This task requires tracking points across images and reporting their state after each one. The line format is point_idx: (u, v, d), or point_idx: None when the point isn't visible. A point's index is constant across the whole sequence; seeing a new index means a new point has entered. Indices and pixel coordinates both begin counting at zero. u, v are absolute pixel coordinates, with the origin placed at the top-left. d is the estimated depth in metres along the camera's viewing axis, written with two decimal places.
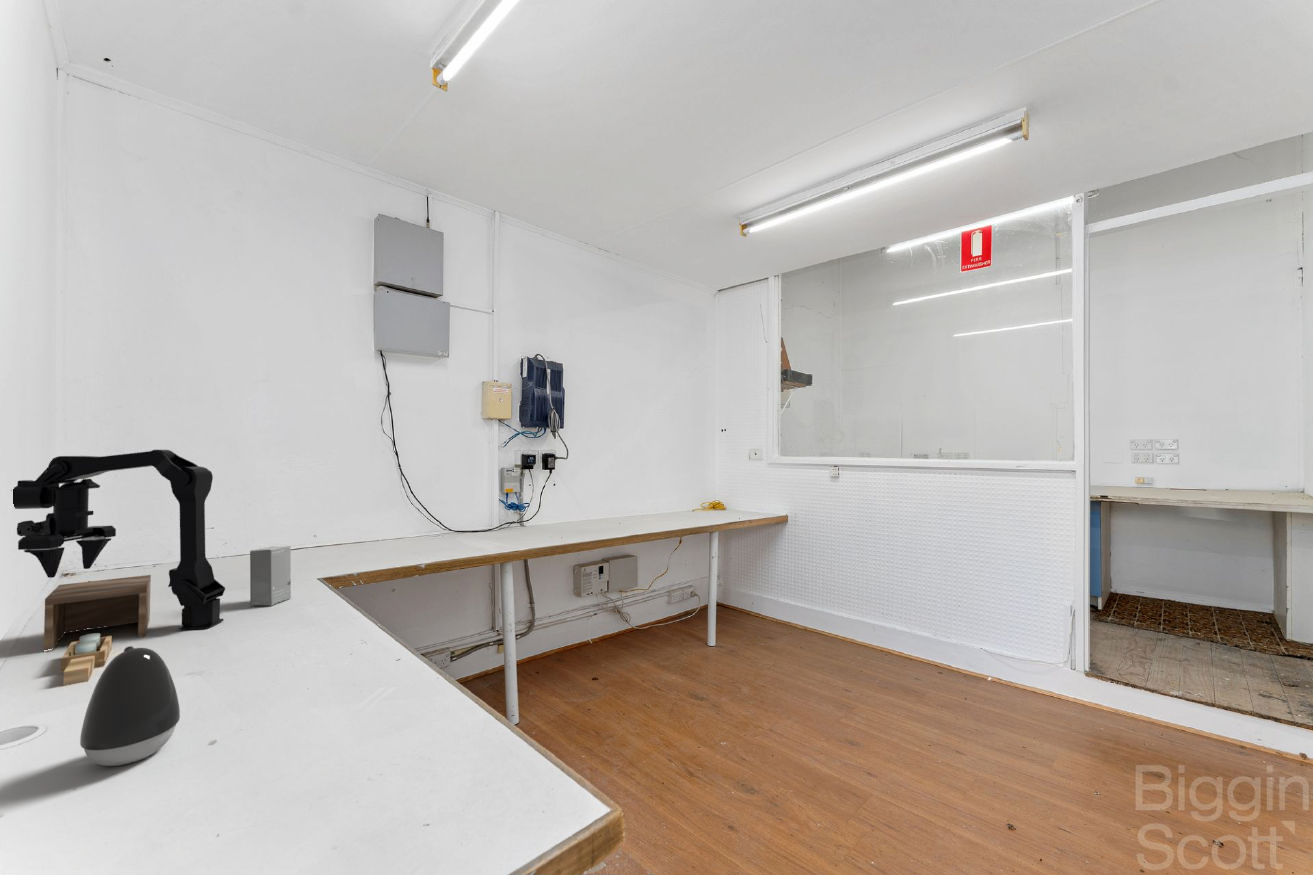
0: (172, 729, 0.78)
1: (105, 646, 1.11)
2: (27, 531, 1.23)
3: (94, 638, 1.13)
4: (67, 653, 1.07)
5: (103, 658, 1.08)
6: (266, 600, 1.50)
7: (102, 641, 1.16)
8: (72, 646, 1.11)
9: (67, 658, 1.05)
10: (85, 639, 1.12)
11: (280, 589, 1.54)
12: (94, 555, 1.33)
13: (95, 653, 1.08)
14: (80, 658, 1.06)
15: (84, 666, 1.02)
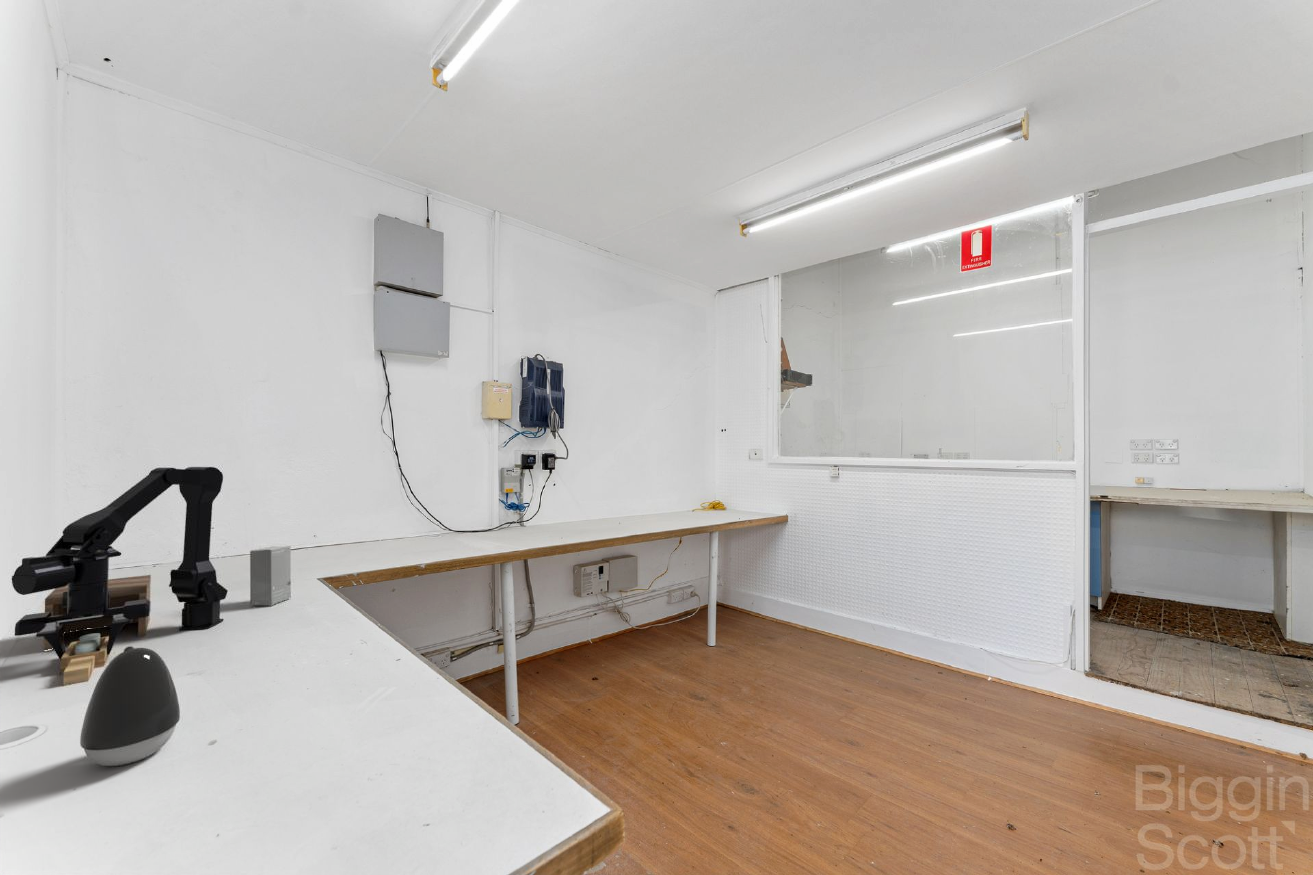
0: (172, 729, 0.78)
1: (105, 646, 1.11)
2: (62, 603, 1.11)
3: (94, 638, 1.13)
4: (67, 653, 1.07)
5: (103, 658, 1.08)
6: (266, 600, 1.50)
7: (102, 641, 1.16)
8: (72, 646, 1.11)
9: (67, 658, 1.05)
10: (85, 639, 1.12)
11: (280, 589, 1.54)
12: (108, 640, 1.11)
13: (95, 653, 1.08)
14: (80, 658, 1.06)
15: (84, 666, 1.02)
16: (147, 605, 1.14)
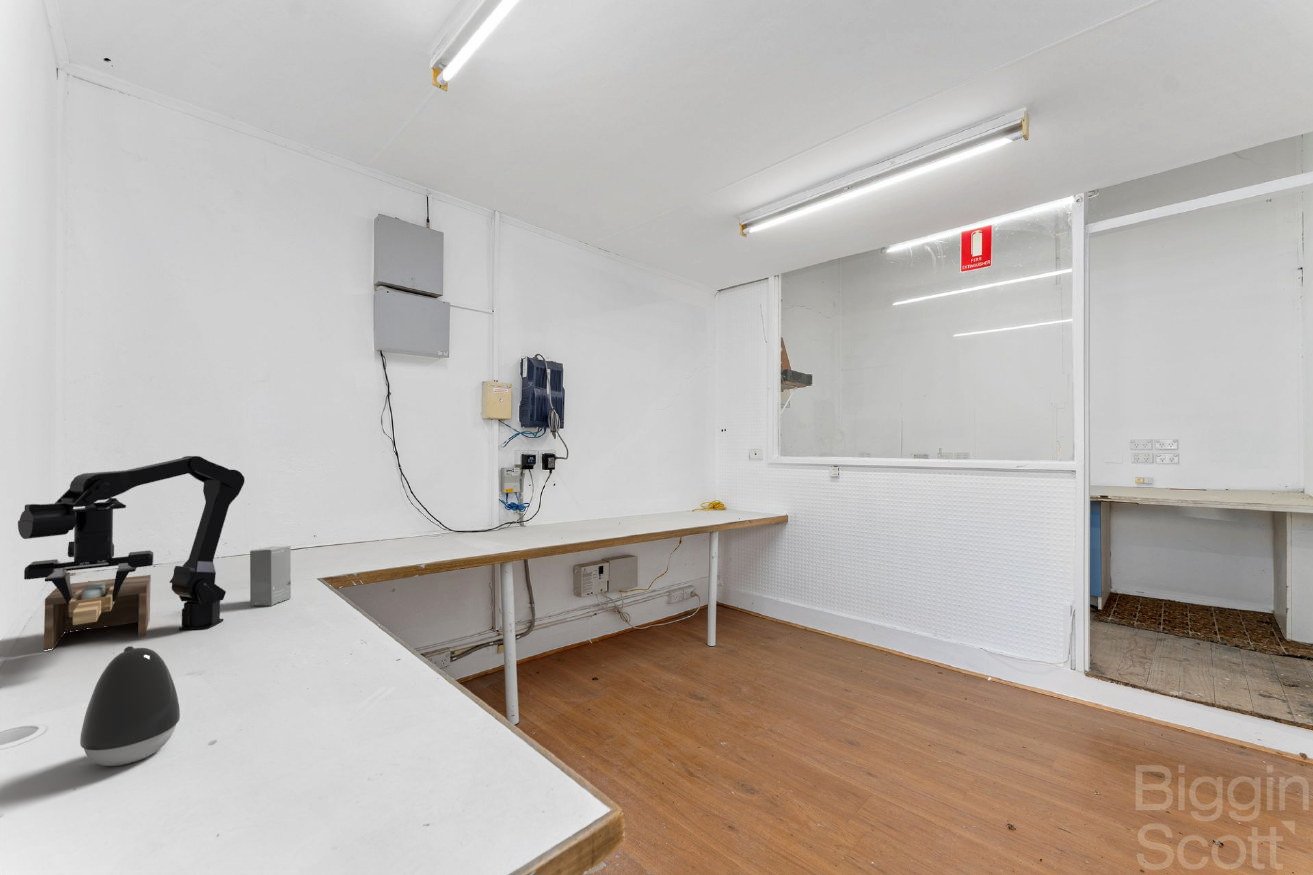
0: (172, 729, 0.78)
1: (111, 593, 1.16)
2: (68, 552, 1.16)
3: (99, 586, 1.17)
4: (74, 598, 1.12)
5: (109, 603, 1.13)
6: (266, 600, 1.50)
7: (107, 590, 1.21)
8: (78, 593, 1.16)
9: (75, 602, 1.10)
10: (91, 587, 1.16)
11: (280, 589, 1.54)
12: (114, 587, 1.16)
13: (101, 598, 1.12)
14: (87, 602, 1.11)
15: (92, 608, 1.07)
16: (150, 555, 1.19)
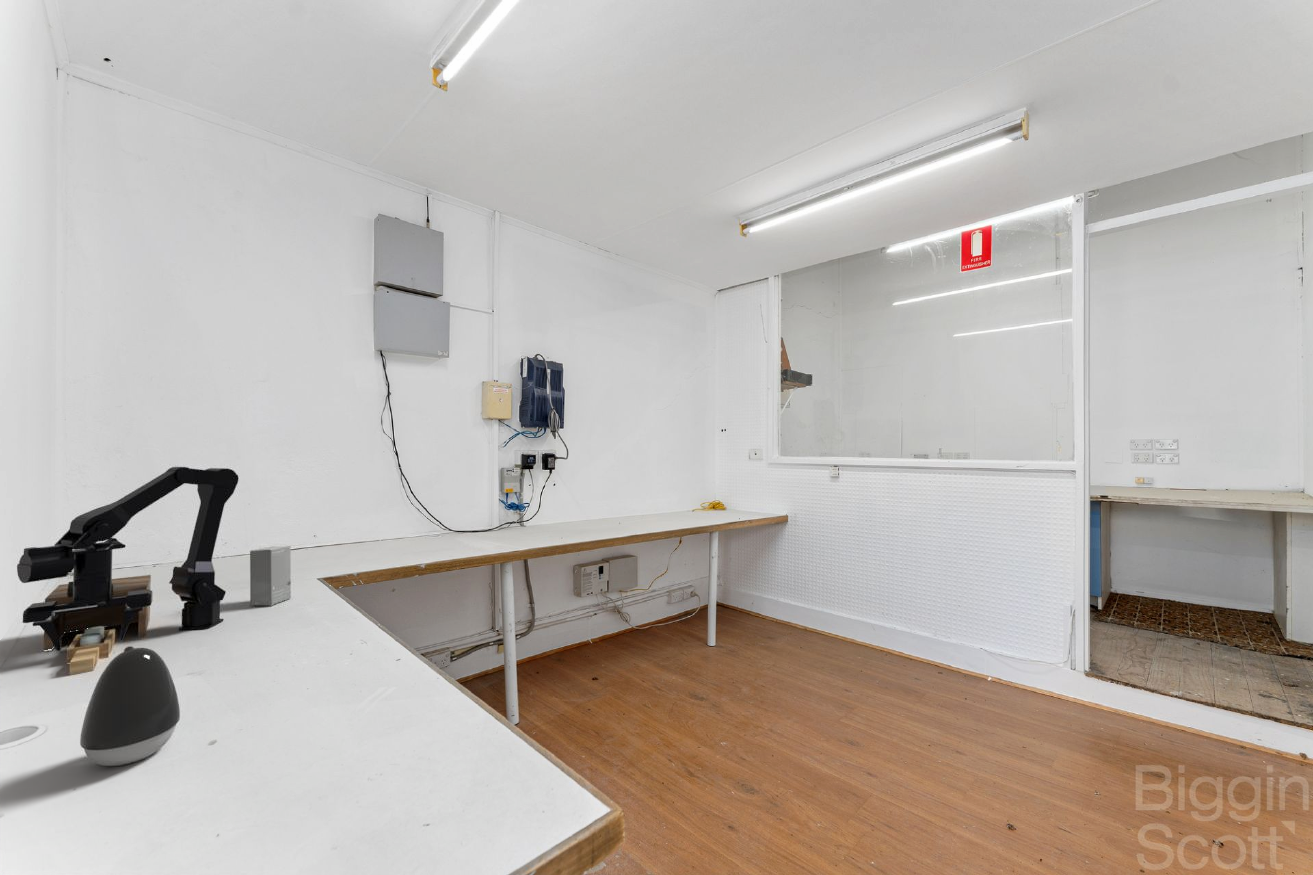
0: (172, 729, 0.78)
1: (109, 638, 1.16)
2: None
3: (98, 631, 1.17)
4: (73, 645, 1.12)
5: (107, 650, 1.13)
6: (266, 600, 1.50)
7: (106, 634, 1.21)
8: (77, 638, 1.16)
9: (73, 649, 1.10)
10: (90, 632, 1.17)
11: (280, 589, 1.54)
12: (121, 627, 1.17)
13: (99, 645, 1.12)
14: (85, 649, 1.11)
15: (89, 657, 1.07)
16: (149, 595, 1.19)
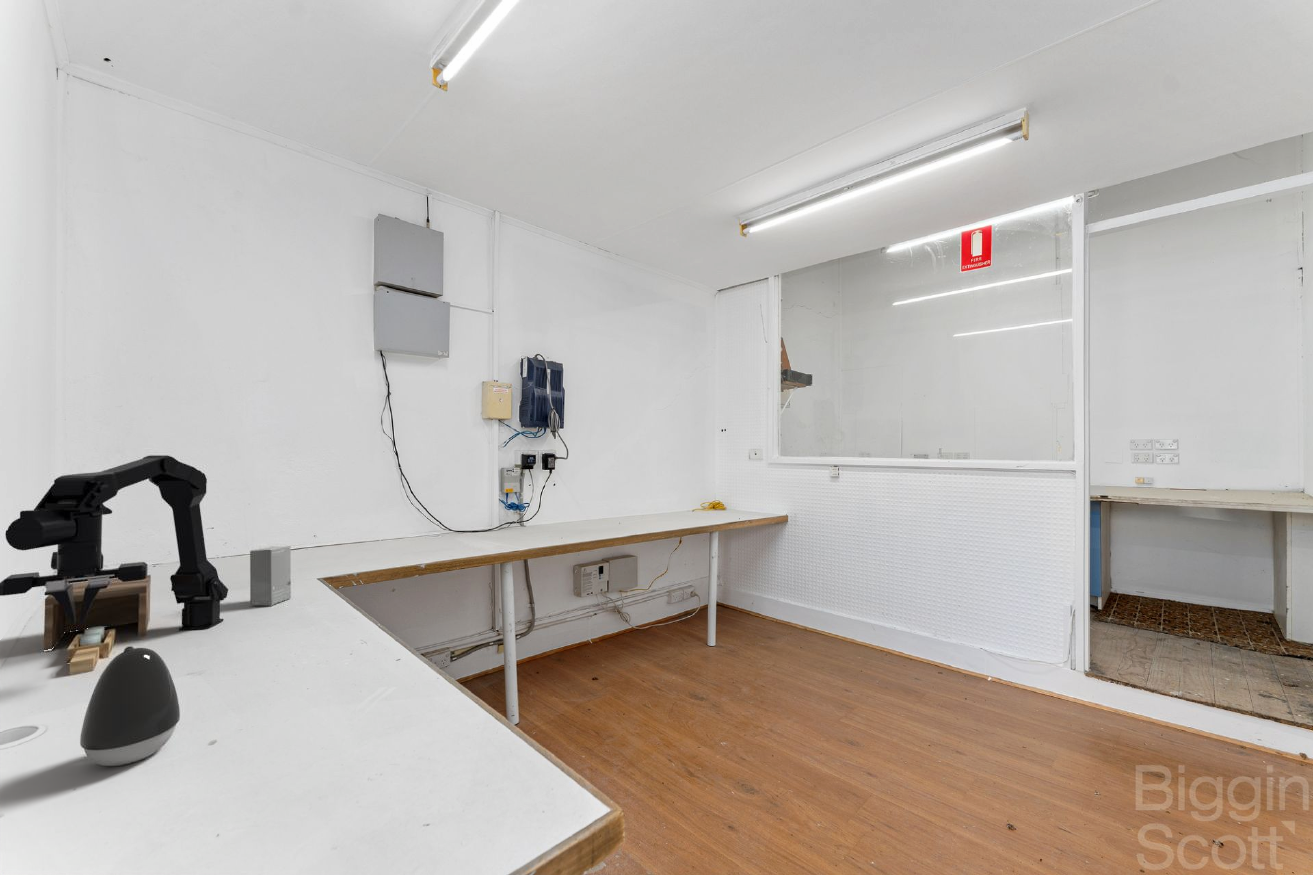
0: (172, 729, 0.78)
1: (109, 638, 1.16)
2: None
3: (98, 631, 1.17)
4: (73, 645, 1.12)
5: (107, 650, 1.13)
6: (266, 600, 1.50)
7: (106, 634, 1.21)
8: (77, 638, 1.16)
9: (73, 649, 1.10)
10: (90, 632, 1.17)
11: (280, 589, 1.54)
12: (82, 607, 1.01)
13: (99, 645, 1.12)
14: (85, 649, 1.11)
15: (89, 657, 1.07)
16: (144, 567, 1.06)
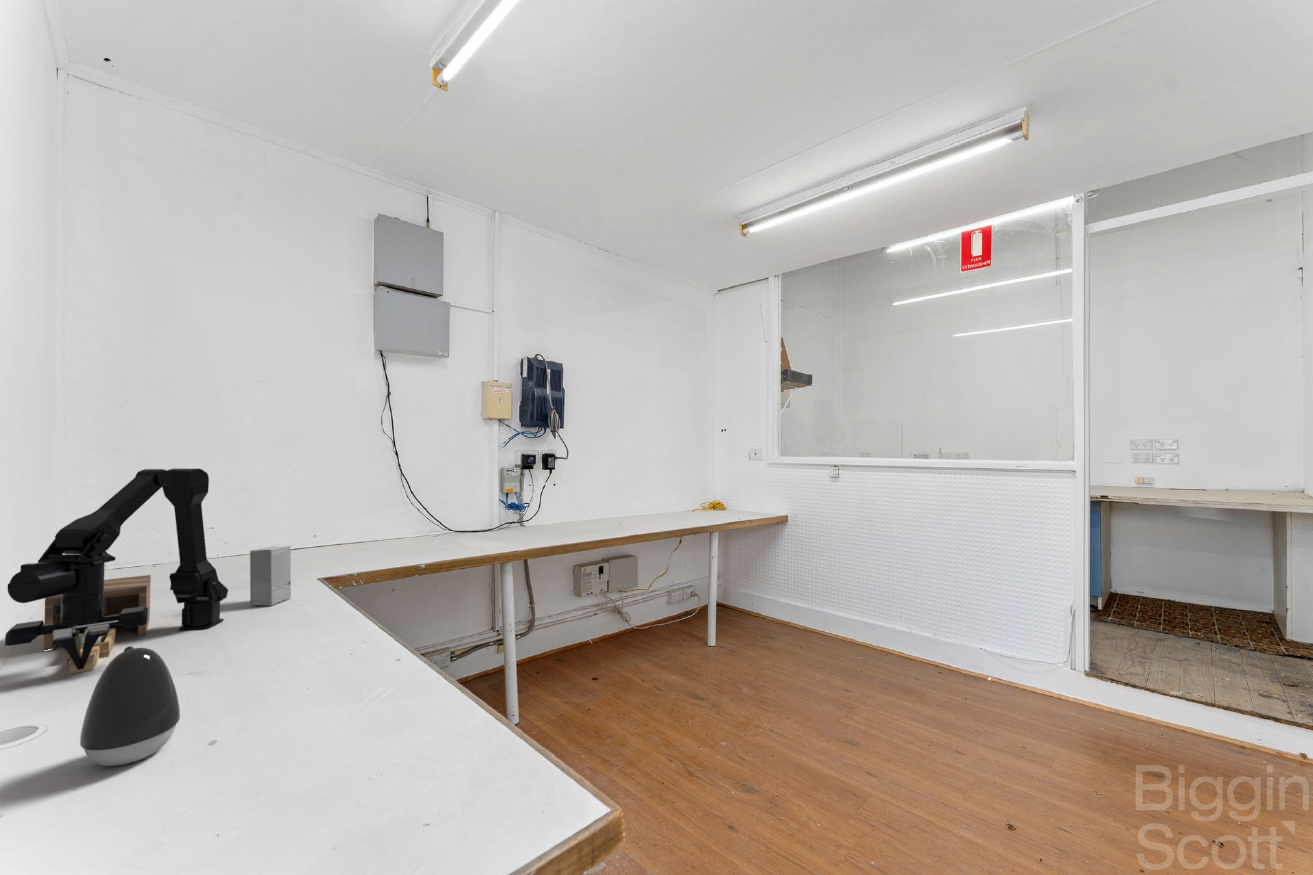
0: (172, 729, 0.78)
1: (109, 637, 1.16)
2: None
3: None
4: None
5: (107, 649, 1.14)
6: (266, 600, 1.50)
7: None
8: None
9: None
10: None
11: (280, 589, 1.54)
12: (82, 653, 1.04)
13: (100, 644, 1.13)
14: None
15: (89, 656, 1.07)
16: (145, 613, 1.09)
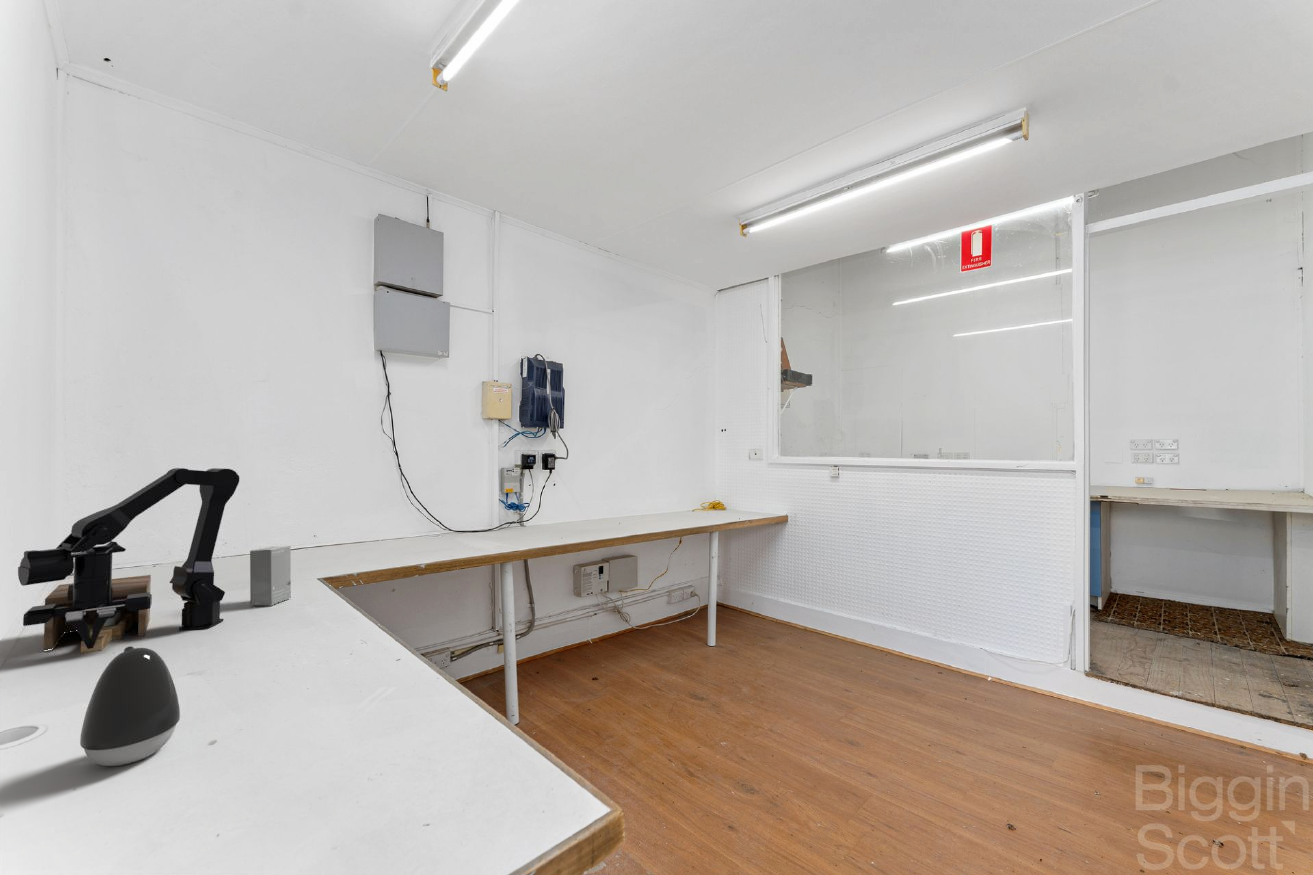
0: (172, 729, 0.78)
1: (123, 621, 1.27)
2: None
3: (116, 614, 1.30)
4: (90, 626, 1.24)
5: (119, 631, 1.24)
6: (266, 600, 1.50)
7: (124, 617, 1.33)
8: None
9: None
10: None
11: (280, 589, 1.54)
12: (92, 634, 1.15)
13: (112, 627, 1.24)
14: None
15: (99, 637, 1.18)
16: (148, 598, 1.20)
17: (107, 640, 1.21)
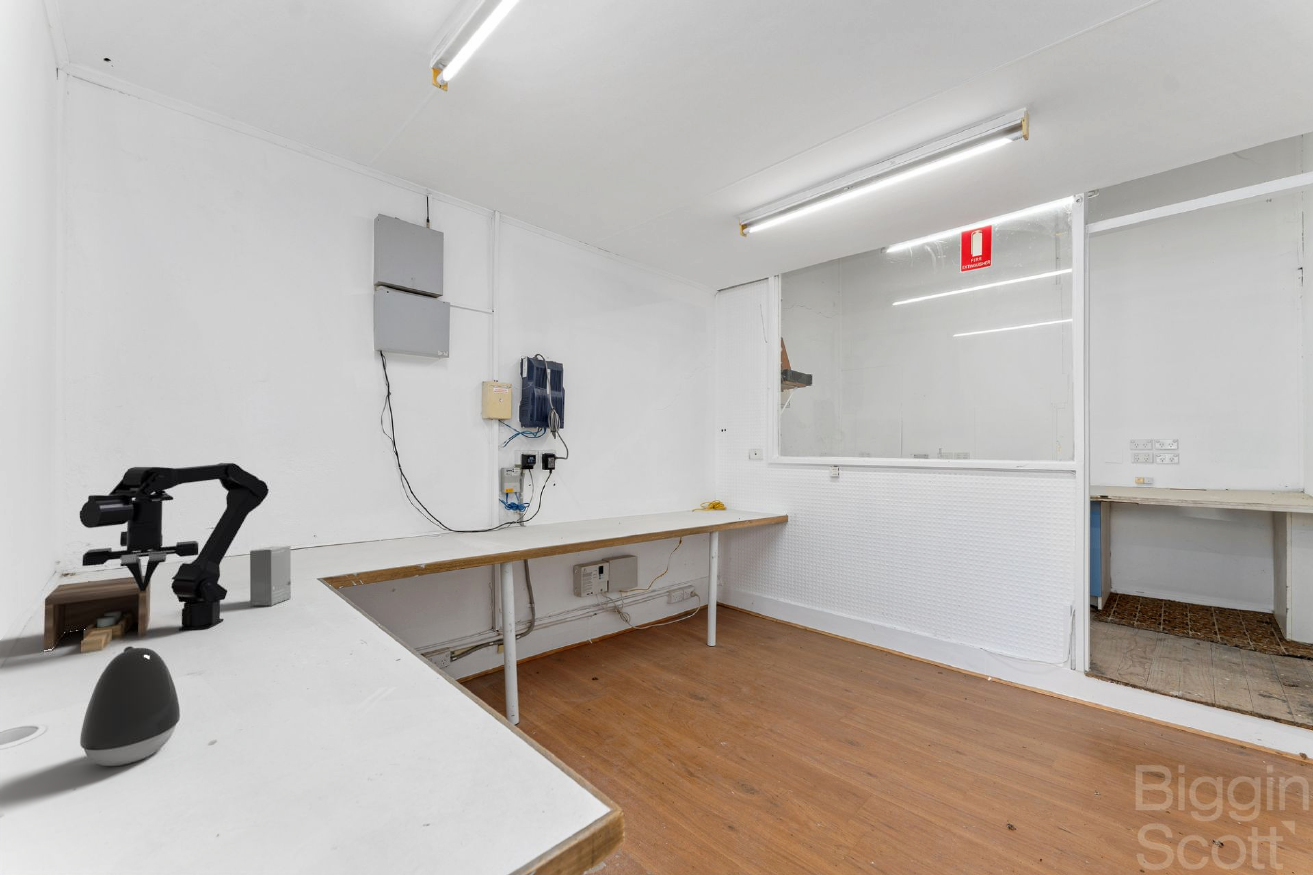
0: (172, 729, 0.78)
1: (123, 621, 1.27)
2: None
3: (116, 614, 1.30)
4: (91, 626, 1.24)
5: (119, 631, 1.24)
6: (266, 600, 1.50)
7: (124, 617, 1.33)
8: None
9: (89, 630, 1.22)
10: (108, 614, 1.29)
11: (280, 589, 1.54)
12: (145, 577, 1.20)
13: (112, 627, 1.24)
14: (99, 630, 1.22)
15: (99, 637, 1.18)
16: (196, 545, 1.25)
17: (107, 640, 1.21)
